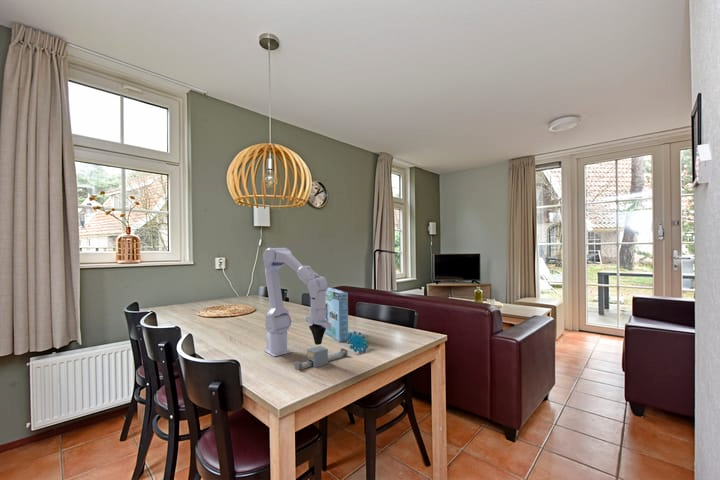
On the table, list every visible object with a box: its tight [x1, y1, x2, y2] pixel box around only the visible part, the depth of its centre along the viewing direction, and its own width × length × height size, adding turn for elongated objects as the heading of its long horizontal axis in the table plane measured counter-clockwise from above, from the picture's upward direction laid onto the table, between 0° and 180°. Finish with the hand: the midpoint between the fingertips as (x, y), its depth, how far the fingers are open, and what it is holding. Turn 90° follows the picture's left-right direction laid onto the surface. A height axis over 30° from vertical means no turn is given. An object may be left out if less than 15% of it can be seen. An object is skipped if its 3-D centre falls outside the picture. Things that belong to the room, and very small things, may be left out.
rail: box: [294, 348, 348, 371], centre depth 123 cm, size 3×22×2 cm, turn 131°
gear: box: [346, 330, 370, 354], centre depth 137 cm, size 11×6×10 cm
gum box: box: [324, 287, 349, 343], centre depth 157 cm, size 20×5×23 cm, turn 28°
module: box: [306, 345, 329, 368], centre depth 121 cm, size 5×6×6 cm
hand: (318, 344), depth 122 cm, fingers closed
